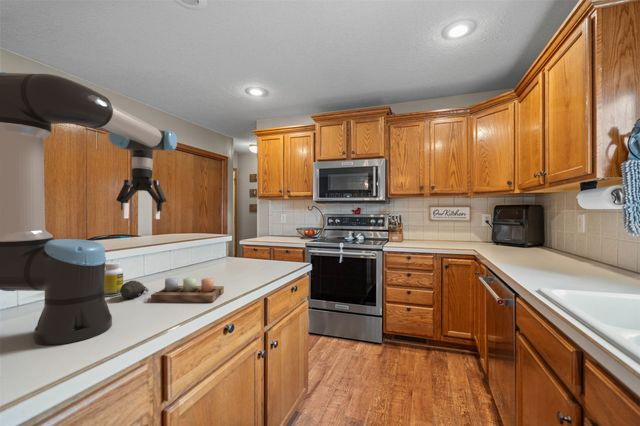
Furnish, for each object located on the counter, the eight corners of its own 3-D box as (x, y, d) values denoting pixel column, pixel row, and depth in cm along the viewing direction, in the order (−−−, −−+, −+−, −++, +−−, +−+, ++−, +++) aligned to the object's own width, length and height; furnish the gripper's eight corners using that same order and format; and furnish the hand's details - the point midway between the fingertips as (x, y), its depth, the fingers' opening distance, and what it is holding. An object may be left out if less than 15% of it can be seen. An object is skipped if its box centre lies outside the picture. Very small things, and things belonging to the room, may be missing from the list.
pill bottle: (114, 297, 101) (114, 265, 101) (96, 297, 101) (97, 264, 101) (127, 292, 107) (127, 261, 107) (110, 291, 108) (110, 261, 107)
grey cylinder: (174, 291, 101) (174, 280, 101) (162, 291, 101) (162, 280, 101) (180, 288, 105) (180, 277, 105) (168, 288, 105) (168, 277, 105)
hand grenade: (141, 293, 98) (154, 287, 109) (125, 279, 97) (140, 274, 109) (126, 306, 96) (141, 298, 108) (111, 292, 96) (127, 286, 107)
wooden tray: (223, 292, 109) (223, 286, 109) (212, 302, 97) (212, 295, 97) (168, 292, 109) (168, 285, 109) (150, 302, 97) (150, 294, 97)
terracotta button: (211, 292, 101) (211, 281, 101) (199, 292, 101) (199, 280, 101) (215, 288, 105) (215, 278, 105) (203, 288, 105) (204, 278, 105)
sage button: (192, 291, 101) (193, 280, 101) (181, 291, 101) (181, 280, 101) (197, 288, 105) (197, 278, 105) (186, 288, 105) (186, 277, 105)
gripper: (175, 170, 123) (174, 219, 123) (120, 169, 124) (119, 218, 124) (165, 167, 116) (164, 219, 116) (106, 166, 117) (105, 218, 117)
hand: (141, 218), depth 120 cm, fingers open, 13 cm apart
